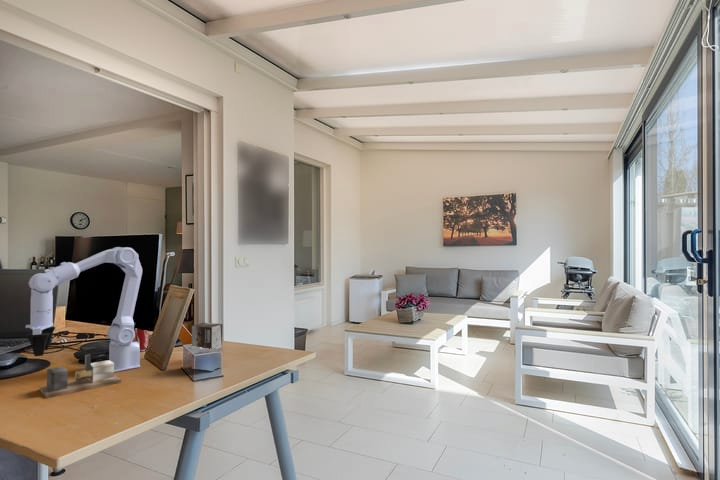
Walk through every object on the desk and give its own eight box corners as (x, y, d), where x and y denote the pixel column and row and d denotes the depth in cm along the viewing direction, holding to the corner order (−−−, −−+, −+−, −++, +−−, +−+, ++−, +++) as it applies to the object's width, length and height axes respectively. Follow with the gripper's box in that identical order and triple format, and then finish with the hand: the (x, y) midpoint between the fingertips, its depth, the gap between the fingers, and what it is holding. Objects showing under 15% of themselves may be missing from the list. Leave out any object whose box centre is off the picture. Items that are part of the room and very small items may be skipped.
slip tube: (106, 373, 140) (107, 351, 140) (109, 375, 138) (109, 352, 138) (74, 379, 133) (75, 356, 133) (77, 381, 131) (77, 357, 131)
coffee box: (222, 367, 155) (223, 323, 155) (211, 372, 149) (212, 326, 149) (202, 364, 158) (203, 322, 158) (190, 369, 152) (191, 325, 152)
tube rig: (111, 375, 144) (111, 356, 144) (121, 382, 137) (121, 362, 137) (39, 389, 129) (39, 368, 129) (46, 398, 122) (46, 375, 123)
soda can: (142, 352, 175) (143, 323, 175) (131, 351, 176) (132, 322, 176) (151, 349, 180) (151, 321, 180) (140, 348, 181) (141, 320, 182)
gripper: (31, 308, 139) (31, 349, 139) (20, 315, 126) (19, 360, 126) (57, 306, 143) (56, 346, 143) (49, 313, 130) (48, 357, 130)
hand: (41, 352), depth 135 cm, fingers open, 7 cm apart
